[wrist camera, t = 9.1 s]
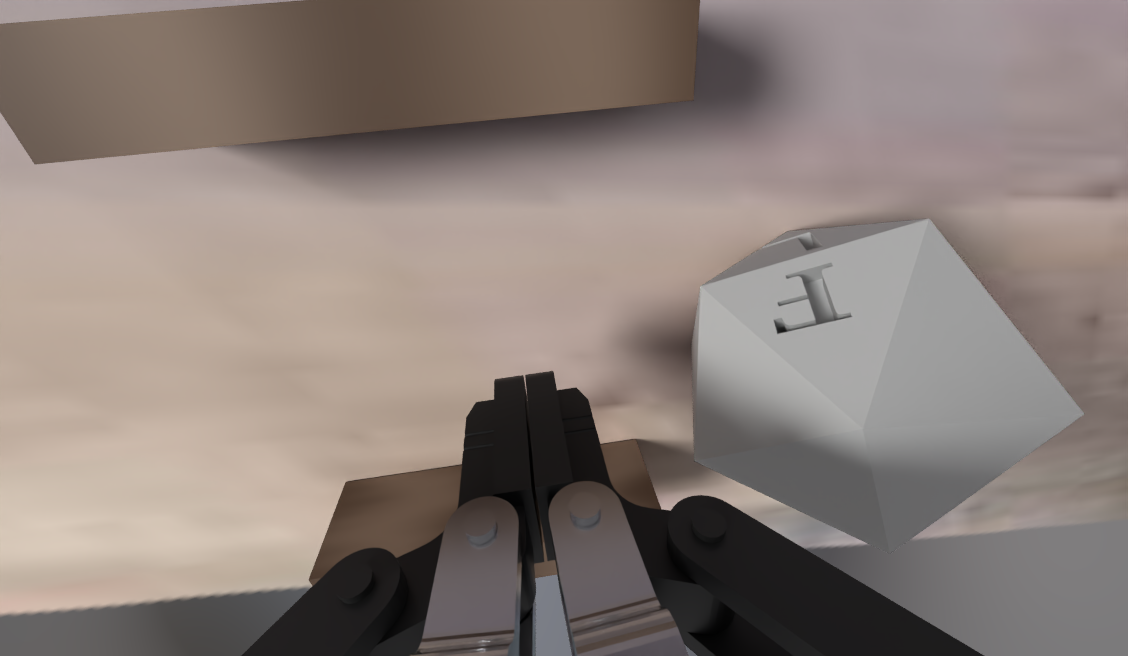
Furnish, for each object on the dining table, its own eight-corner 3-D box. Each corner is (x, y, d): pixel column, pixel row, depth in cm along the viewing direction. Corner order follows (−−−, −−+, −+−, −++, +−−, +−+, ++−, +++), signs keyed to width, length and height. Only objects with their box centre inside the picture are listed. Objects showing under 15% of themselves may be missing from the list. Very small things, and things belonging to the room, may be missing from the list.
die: (912, 193, 15) (1099, 116, 7) (979, 429, 16) (1245, 652, 7) (681, 267, 19) (607, 279, 10) (738, 458, 19) (712, 626, 10)
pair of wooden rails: (638, 1, 11) (702, -31, 8) (635, 471, 20) (663, 556, 16) (132, 42, 10) (-55, 28, 7) (361, 513, 19) (329, 612, 15)
